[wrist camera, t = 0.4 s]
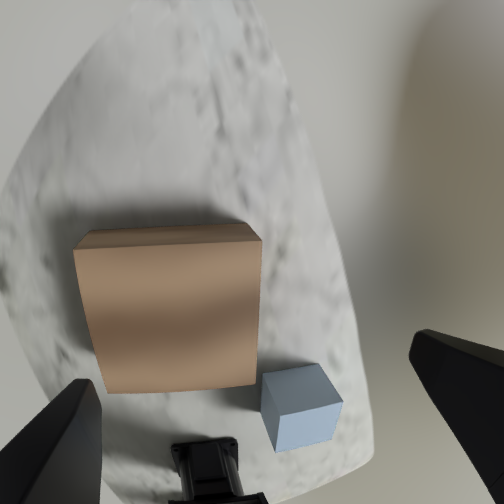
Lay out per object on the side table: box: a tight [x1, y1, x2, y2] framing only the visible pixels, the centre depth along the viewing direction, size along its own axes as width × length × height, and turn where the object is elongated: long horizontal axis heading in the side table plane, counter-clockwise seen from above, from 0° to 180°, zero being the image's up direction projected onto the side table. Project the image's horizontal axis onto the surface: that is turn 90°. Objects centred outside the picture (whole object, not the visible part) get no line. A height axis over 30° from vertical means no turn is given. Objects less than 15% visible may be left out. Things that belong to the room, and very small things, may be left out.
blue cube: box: [260, 364, 344, 453], centre depth 24 cm, size 5×5×5 cm
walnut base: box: [73, 223, 262, 394], centre depth 19 cm, size 10×10×4 cm
